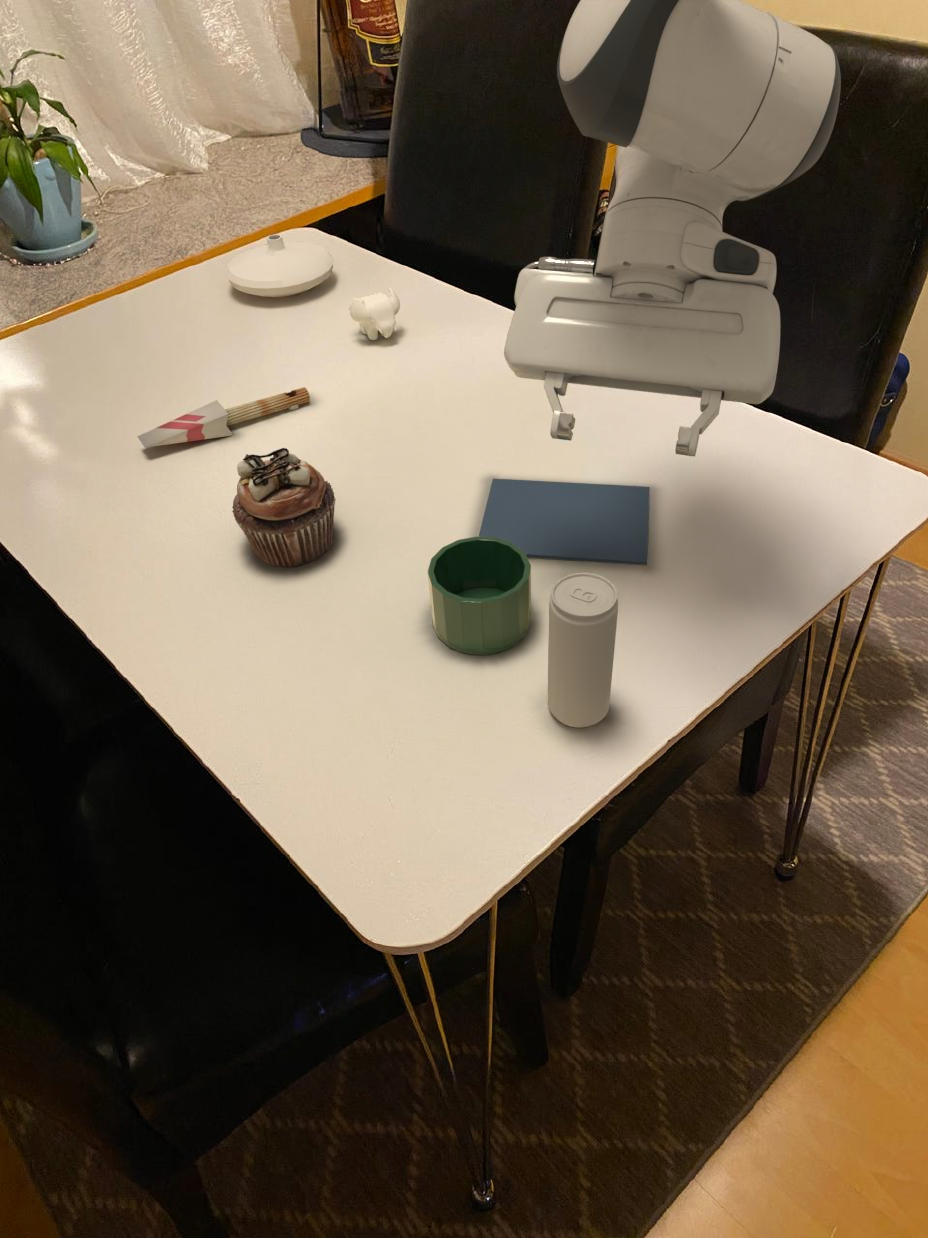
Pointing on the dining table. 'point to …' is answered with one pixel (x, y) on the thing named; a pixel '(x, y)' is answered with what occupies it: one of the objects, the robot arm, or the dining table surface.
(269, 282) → the vase
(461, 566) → the green round pot
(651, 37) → the robot arm
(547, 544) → the mat
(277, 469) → the cupcake
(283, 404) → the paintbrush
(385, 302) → the elephant figurine
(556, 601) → the beverage can
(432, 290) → the dining table surface
